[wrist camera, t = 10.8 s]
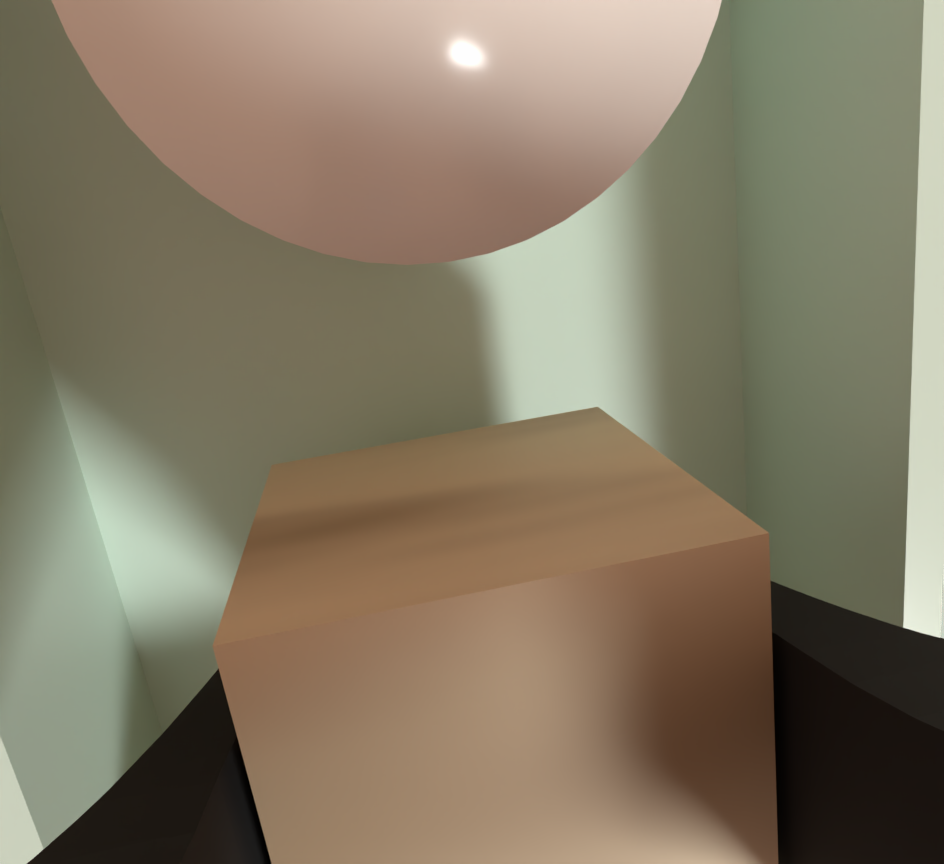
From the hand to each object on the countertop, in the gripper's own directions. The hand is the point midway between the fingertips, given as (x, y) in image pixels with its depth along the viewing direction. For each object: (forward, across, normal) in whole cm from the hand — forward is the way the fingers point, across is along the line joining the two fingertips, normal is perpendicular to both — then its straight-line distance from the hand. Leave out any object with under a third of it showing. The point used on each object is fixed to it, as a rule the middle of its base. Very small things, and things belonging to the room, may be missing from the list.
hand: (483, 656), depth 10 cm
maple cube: (+2, 0, 0) cm, 2 cm away
